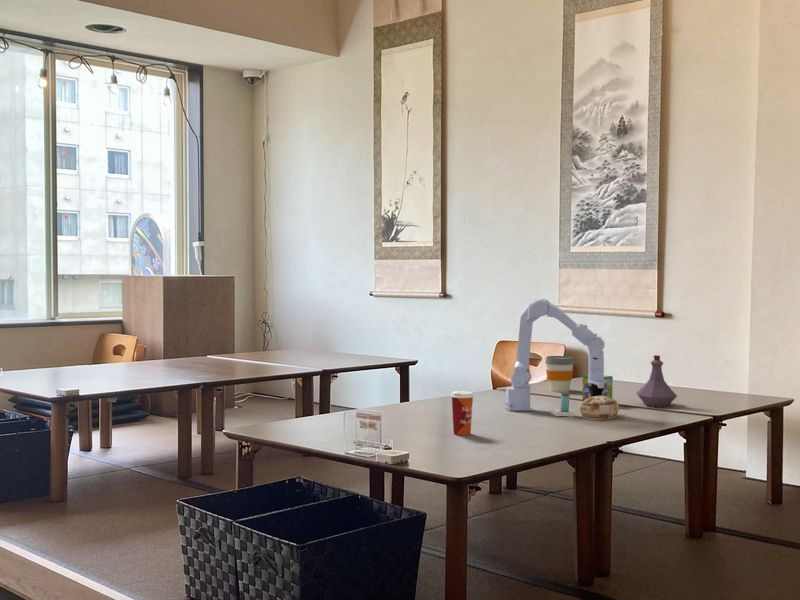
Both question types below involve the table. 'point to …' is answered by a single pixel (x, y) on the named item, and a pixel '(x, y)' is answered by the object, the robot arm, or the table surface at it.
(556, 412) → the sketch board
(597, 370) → the robot arm
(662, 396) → the flask
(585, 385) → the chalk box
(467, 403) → the paper cup
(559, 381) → the reusable coffee cup
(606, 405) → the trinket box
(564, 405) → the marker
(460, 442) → the table surface
